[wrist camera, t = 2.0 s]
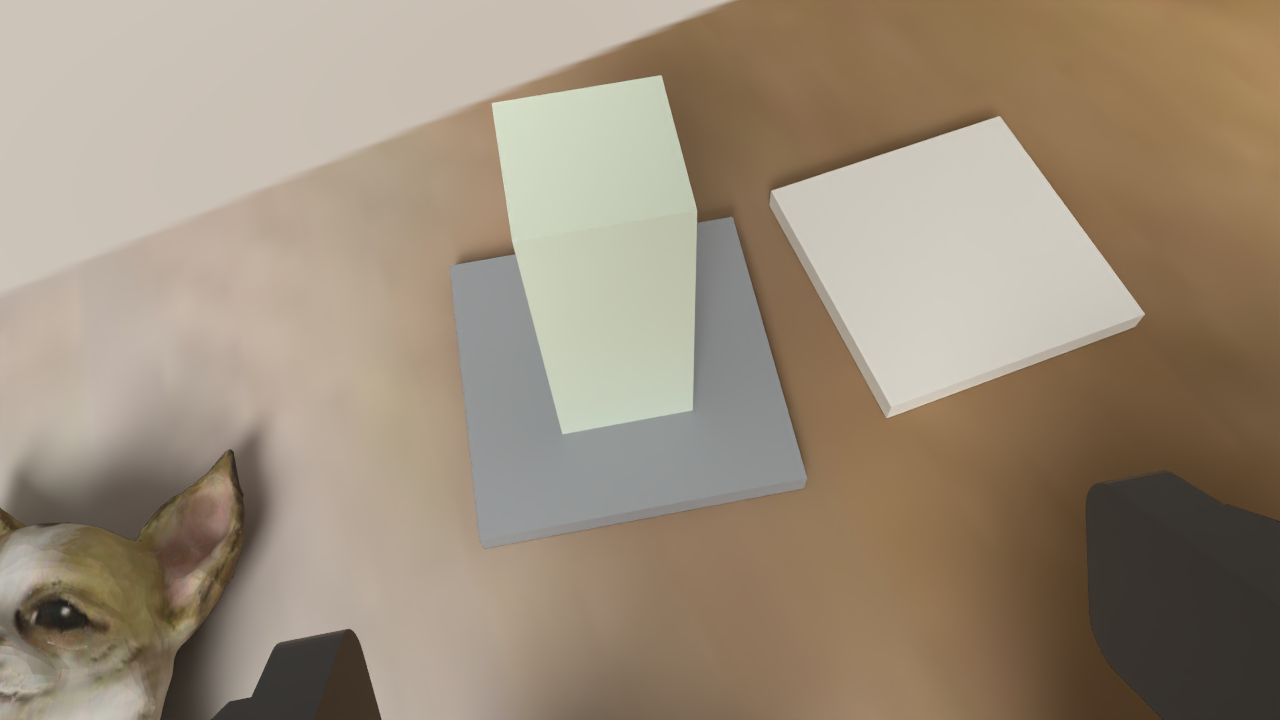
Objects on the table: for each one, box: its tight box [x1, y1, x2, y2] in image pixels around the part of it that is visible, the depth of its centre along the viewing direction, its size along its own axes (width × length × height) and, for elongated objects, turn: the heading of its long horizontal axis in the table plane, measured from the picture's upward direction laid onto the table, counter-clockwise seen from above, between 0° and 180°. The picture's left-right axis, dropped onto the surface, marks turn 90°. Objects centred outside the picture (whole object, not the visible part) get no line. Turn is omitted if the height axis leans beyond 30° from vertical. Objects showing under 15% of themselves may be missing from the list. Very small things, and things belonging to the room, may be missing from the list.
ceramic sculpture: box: [0, 449, 244, 720], centre depth 31 cm, size 11×9×15 cm
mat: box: [769, 116, 1145, 418], centre depth 41 cm, size 11×11×1 cm
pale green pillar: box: [492, 75, 697, 434], centre depth 33 cm, size 5×5×12 cm
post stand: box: [450, 217, 807, 549], centre depth 37 cm, size 12×12×6 cm
